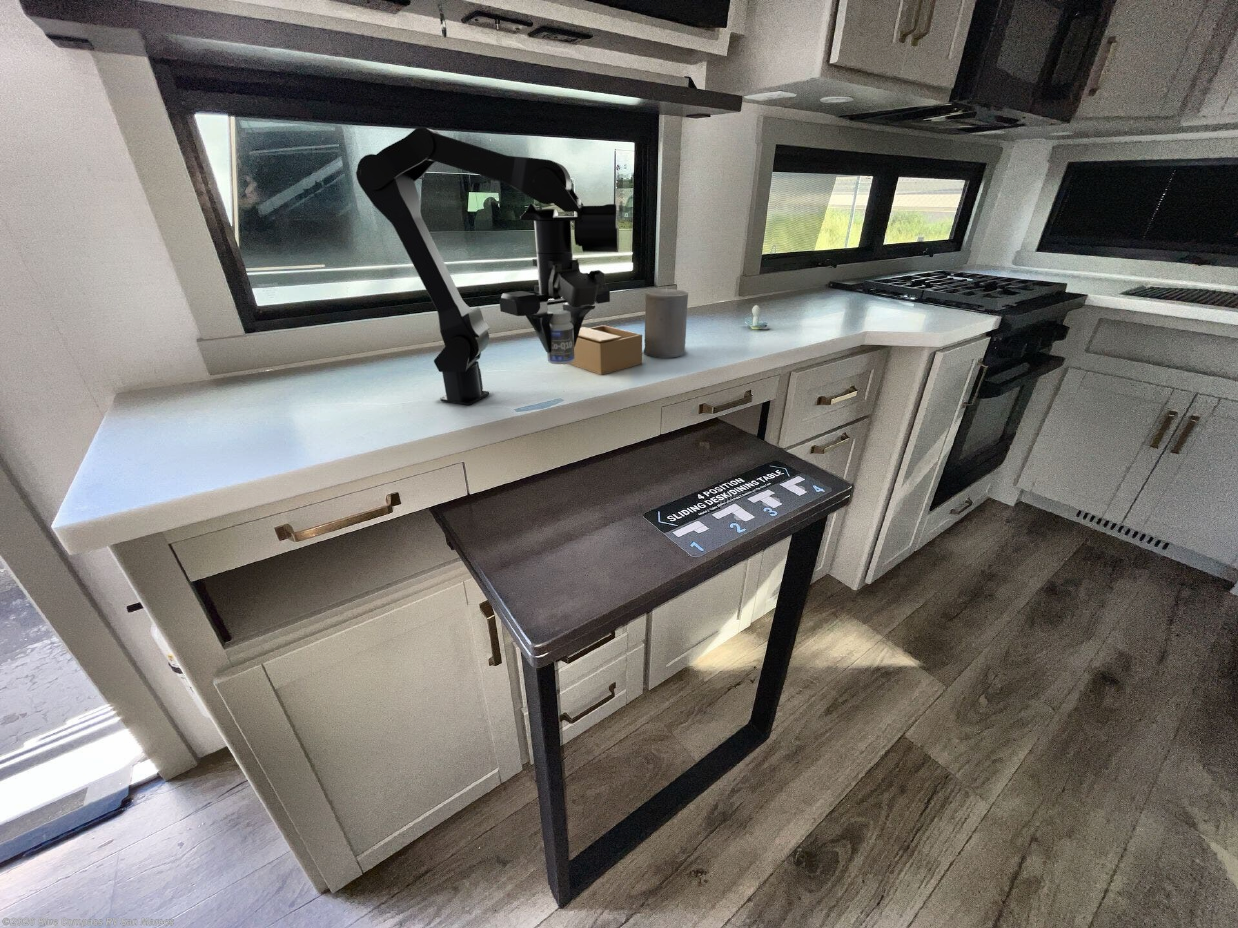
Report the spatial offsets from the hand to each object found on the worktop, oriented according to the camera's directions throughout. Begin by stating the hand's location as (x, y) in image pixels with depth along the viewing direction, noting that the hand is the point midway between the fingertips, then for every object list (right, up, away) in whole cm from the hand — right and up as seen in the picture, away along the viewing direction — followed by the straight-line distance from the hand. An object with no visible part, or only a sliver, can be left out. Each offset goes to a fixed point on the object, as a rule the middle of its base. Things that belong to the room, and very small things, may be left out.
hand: (560, 349), depth 88 cm
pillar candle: (+21, +6, +32) cm, 39 cm away
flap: (+4, +8, +20) cm, 22 cm away
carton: (+7, +3, +25) cm, 26 cm away
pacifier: (+49, +18, +54) cm, 75 cm away
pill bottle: (0, -2, +1) cm, 2 cm away
